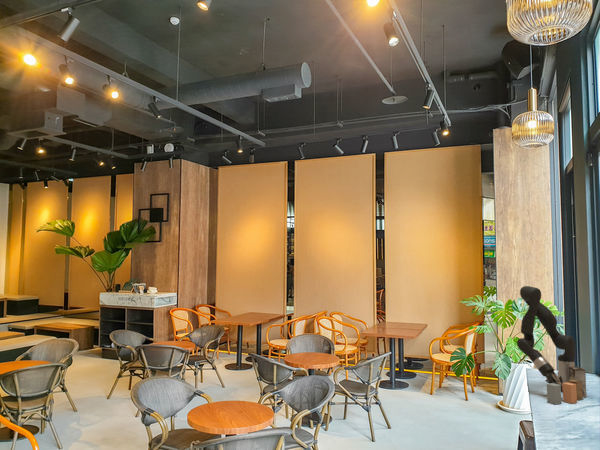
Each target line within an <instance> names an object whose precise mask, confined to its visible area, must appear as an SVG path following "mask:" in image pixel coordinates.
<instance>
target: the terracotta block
mask: <svg viewBox="0 0 600 450" xmlns="http://www.w3.org/2000/svg"><path fill="white" fill-rule="evenodd" d="M562 389H563V393H562V402H565V403H569V404H576V403H578V400H577V389H576V384H573V383H568V382H567V383H562Z"/></svg>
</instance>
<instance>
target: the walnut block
mask: <svg viewBox="0 0 600 450" xmlns="http://www.w3.org/2000/svg"><path fill="white" fill-rule="evenodd" d="M568 383H573V384H576V389H577V401H580V400H584V397H583V391H582V381H577V380H568Z"/></svg>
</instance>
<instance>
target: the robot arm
mask: <svg viewBox="0 0 600 450" xmlns="http://www.w3.org/2000/svg"><path fill="white" fill-rule="evenodd" d="M519 295H520V297H521V300H523V301H524V302H525V304H526V305H527V306H528V308H527V311H526V312H525V314H524V316H523V318H522V319H521V327H520V333H521V334H523V337H520V338H518V339H517V341H516V345H517V347H518V349H519V350H520V351H521V352H522V353H523V354H524V355H526V357H528V358H529V360H530V361H531V363H533V364H534V366H535V368H536V369H537V370H538V372H539V373H540V374H541V375H542V376H543V377H545V380H544V381H545V382H546V383H547V384H550V383H554V384H558V385H561V394H563V389H562V383H567V382H568V380H570V379H569V367H576V365H575V358H576V341H575V339H574V337H573V336H571V335H565V334H561V332H559V331H558V328H557V325H558V320H557V318H556V316H555V315H554V312H553V311H552V310H550V309H549V308H548V307H547V306H546V305H545V304H543V303H542V302H541V299H542V291H541V290H540V288H538V287H533V286H530V285H529V286H528V285H524V286H522V287H521V288H520V290H519ZM536 318H537V320H538V322H539V323H540V324H541V325H542V327H543V329H545V331H546V332H547V334H548V336H549V338H550V340H551V342H552V343H553V345H554V346H555V347H556V348H557V349H559V350H563V354H559V355H558V356H557V368H558V371H557V373H556V372H555V369H554V367H553V366H552V365H551V363H550V362H549V361H548V360H547V358H545V357H544V355H542V354H541V352H540V351H539V350H538V349H535V348H534V347H535V336H534V329H535V328H534V327H535V320H536Z"/></svg>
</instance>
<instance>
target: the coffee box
mask: <svg viewBox="0 0 600 450" xmlns="http://www.w3.org/2000/svg"><path fill="white" fill-rule="evenodd" d="M586 377H587V375H586V369H584V368H582V367H581V366H575V367H569V379H570V380H577V381H582V391H583V399H584V398H585V399H587V396H588V395H587V378H586Z"/></svg>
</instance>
